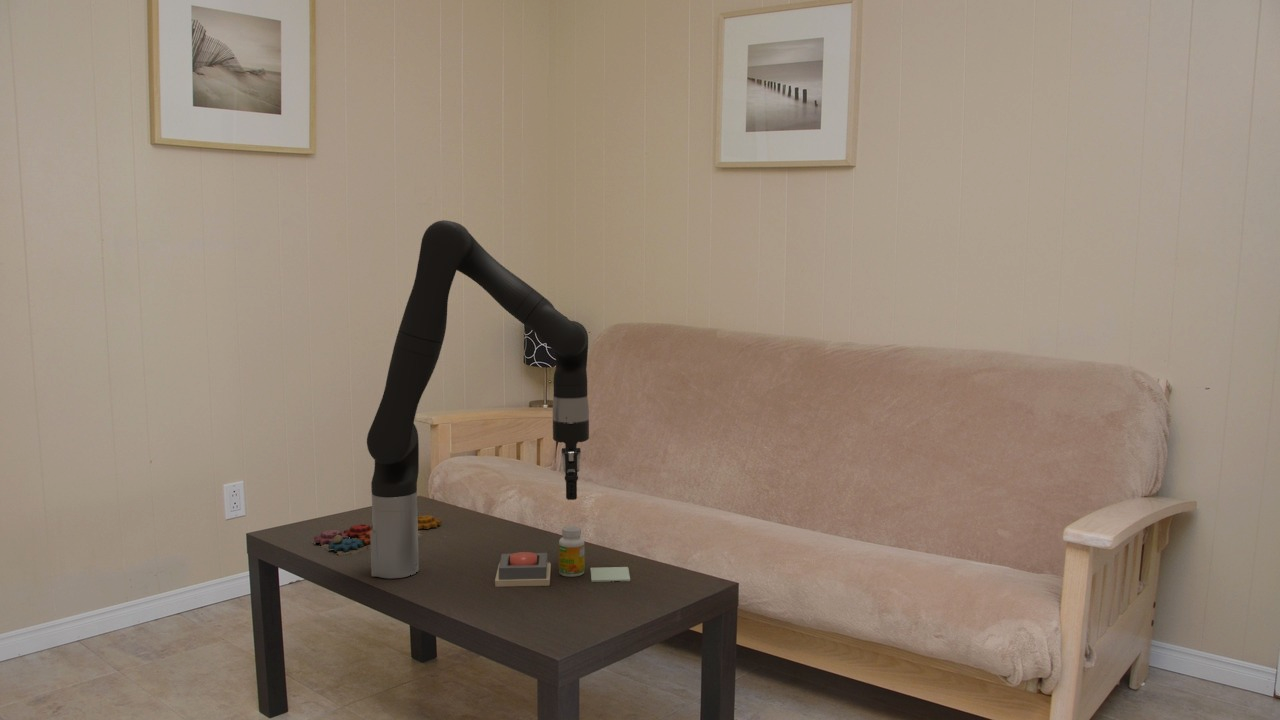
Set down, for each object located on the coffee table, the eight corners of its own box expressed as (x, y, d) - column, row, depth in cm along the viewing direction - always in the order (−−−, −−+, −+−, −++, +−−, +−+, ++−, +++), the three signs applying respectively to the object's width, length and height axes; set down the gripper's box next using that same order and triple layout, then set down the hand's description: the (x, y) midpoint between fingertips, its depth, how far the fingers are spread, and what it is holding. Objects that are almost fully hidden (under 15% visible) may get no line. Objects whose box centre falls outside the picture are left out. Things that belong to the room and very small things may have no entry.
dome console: (495, 586, 194) (494, 569, 194) (499, 569, 205) (498, 552, 204) (549, 585, 195) (549, 568, 194) (550, 568, 206) (550, 551, 205)
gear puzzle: (424, 519, 246) (424, 504, 245) (459, 532, 234) (459, 516, 234) (307, 544, 224) (307, 527, 224) (339, 560, 213) (339, 542, 212)
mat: (591, 582, 197) (591, 580, 197) (590, 569, 205) (590, 567, 205) (630, 581, 197) (630, 579, 197) (627, 568, 205) (627, 567, 205)
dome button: (509, 574, 197) (509, 560, 196) (510, 566, 202) (510, 552, 202) (536, 574, 197) (536, 559, 197) (537, 565, 203) (537, 551, 202)
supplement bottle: (554, 575, 201) (554, 530, 200) (566, 567, 206) (565, 523, 205) (577, 578, 199) (577, 532, 198) (588, 570, 204) (588, 526, 203)
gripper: (553, 412, 206) (554, 486, 208) (551, 423, 192) (552, 503, 193) (588, 412, 206) (588, 486, 208) (589, 423, 192) (590, 502, 194)
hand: (571, 494), depth 201 cm, fingers open, 8 cm apart
